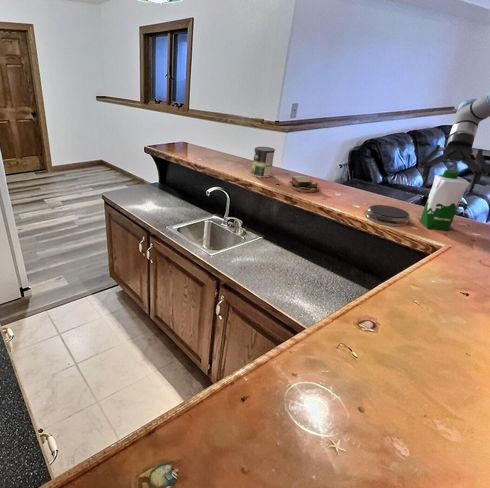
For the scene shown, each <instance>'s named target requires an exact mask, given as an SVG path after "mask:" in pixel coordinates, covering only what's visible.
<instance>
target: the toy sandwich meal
mask: <svg viewBox="0 0 490 488" xmlns="http://www.w3.org/2000/svg"><path fill="white" fill-rule="evenodd" d="M289 183H290V187H291V189H292V190H293V191H296V192H299V191H300V193H307V192H310V193H315V192H316V191H319V187H318V186H319V182H316V183H315V182H314V181H313V180H312V179H311V178H308V177H307V176H305V175H293V176H292V177H291V180H290V181H289Z"/></svg>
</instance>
